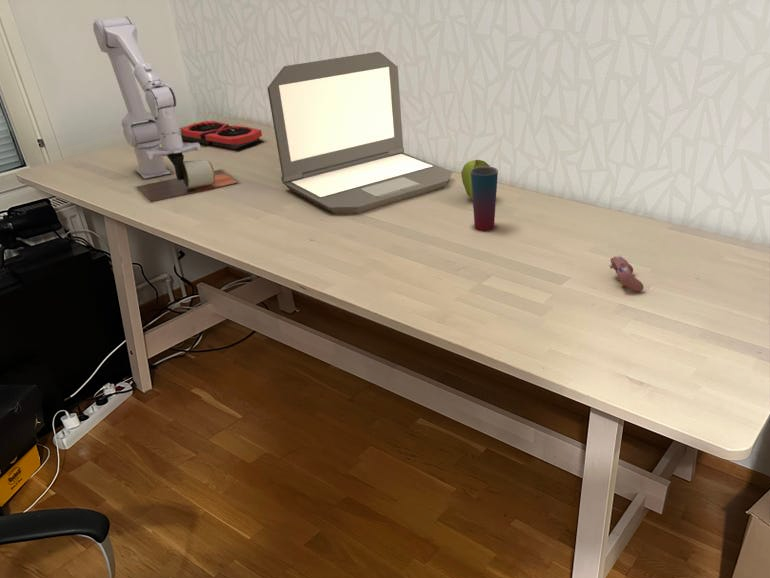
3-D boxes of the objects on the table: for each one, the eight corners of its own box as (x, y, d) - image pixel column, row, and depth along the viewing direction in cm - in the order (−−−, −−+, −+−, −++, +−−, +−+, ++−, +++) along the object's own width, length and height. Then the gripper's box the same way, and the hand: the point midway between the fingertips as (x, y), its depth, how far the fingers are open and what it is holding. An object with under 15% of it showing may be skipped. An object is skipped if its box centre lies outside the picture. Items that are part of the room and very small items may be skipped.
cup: (500, 224, 181) (501, 167, 173) (492, 233, 176) (493, 176, 168) (476, 220, 183) (475, 165, 175) (467, 230, 178) (466, 173, 170)
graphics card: (223, 156, 231) (221, 144, 229) (163, 141, 245) (160, 130, 243) (268, 141, 245) (266, 130, 242) (209, 128, 259) (206, 117, 257)
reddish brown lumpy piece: (615, 279, 158) (604, 255, 154) (633, 270, 157) (622, 245, 153) (626, 300, 150) (614, 274, 146) (645, 291, 149) (635, 265, 145)
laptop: (340, 221, 184) (323, 88, 165) (283, 190, 203) (262, 69, 185) (463, 183, 207) (461, 64, 189) (402, 159, 227) (394, 49, 208)
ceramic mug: (218, 186, 205) (213, 160, 201) (190, 191, 201) (185, 164, 197) (206, 178, 213) (202, 153, 209) (179, 182, 208) (174, 156, 204)
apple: (465, 193, 200) (465, 154, 194) (494, 195, 199) (494, 155, 192) (458, 204, 193) (457, 163, 187) (488, 206, 192) (488, 165, 185)
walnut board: (137, 187, 207) (137, 186, 206) (220, 170, 219) (220, 169, 219) (151, 201, 196) (151, 200, 196) (237, 183, 209) (237, 182, 209)
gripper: (146, 139, 189) (159, 187, 197) (199, 130, 196) (210, 177, 204) (139, 134, 194) (152, 181, 202) (191, 125, 201) (202, 171, 209)
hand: (181, 179), depth 203 cm, fingers closed, pressing on ceramic mug
